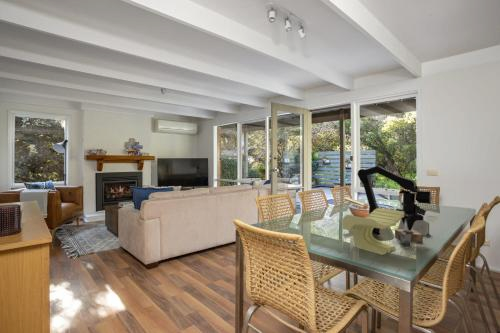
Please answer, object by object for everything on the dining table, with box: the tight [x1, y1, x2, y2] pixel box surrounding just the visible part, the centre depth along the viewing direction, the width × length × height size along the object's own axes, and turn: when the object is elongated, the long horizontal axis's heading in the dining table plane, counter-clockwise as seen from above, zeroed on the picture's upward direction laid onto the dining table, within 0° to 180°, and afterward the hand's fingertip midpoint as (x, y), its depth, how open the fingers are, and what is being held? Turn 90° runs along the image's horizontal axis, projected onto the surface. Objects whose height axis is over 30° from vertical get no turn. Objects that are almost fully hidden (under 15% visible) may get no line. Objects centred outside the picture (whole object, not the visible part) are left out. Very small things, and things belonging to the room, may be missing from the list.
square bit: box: [404, 220, 413, 233], centre depth 150 cm, size 3×3×9 cm
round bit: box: [399, 232, 412, 247], centre depth 139 cm, size 5×5×6 cm
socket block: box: [394, 228, 424, 243], centre depth 150 cm, size 10×10×4 cm
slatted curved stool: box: [342, 207, 404, 256], centre depth 135 cm, size 30×16×18 cm, turn 127°
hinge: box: [397, 219, 430, 237], centre depth 164 cm, size 17×5×10 cm, turn 37°
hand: (408, 229), depth 150 cm, fingers closed on square bit, 3 cm apart
